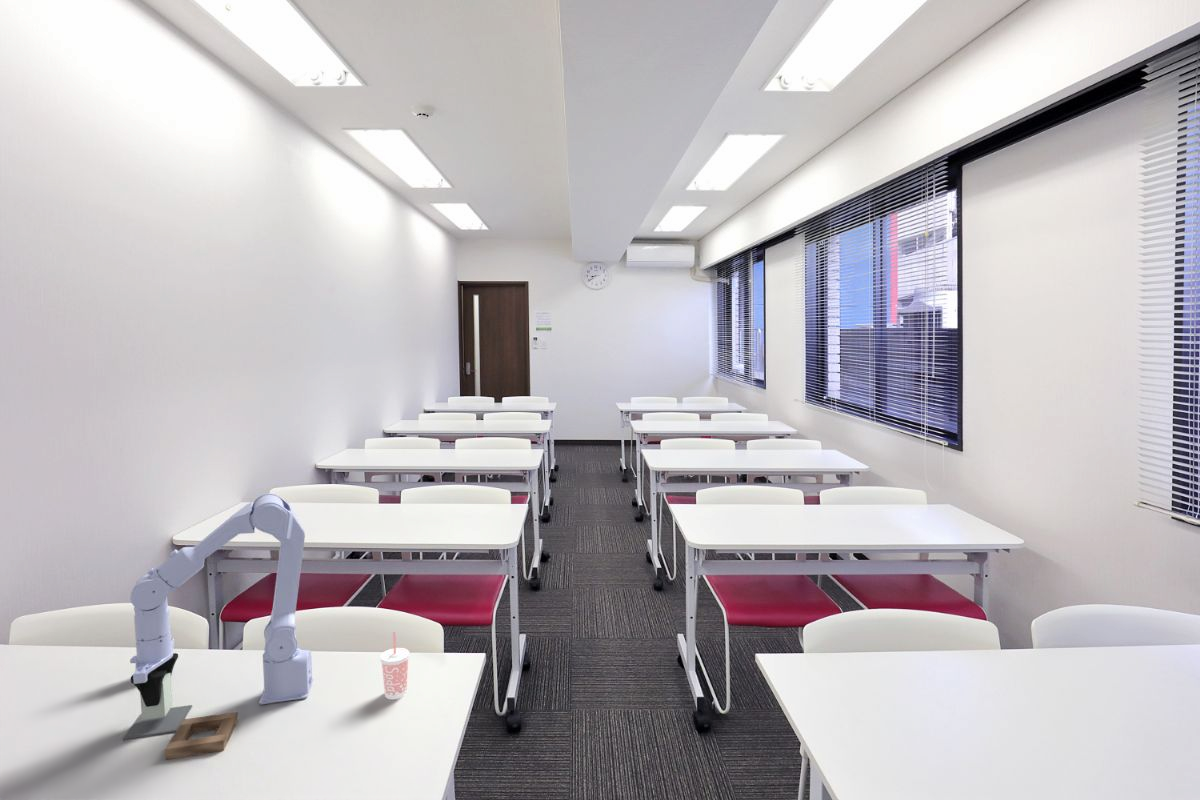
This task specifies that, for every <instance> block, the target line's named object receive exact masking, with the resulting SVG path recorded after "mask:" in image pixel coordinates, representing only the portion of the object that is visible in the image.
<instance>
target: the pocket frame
mask: <svg viewBox="0 0 1200 800" xmlns="http://www.w3.org/2000/svg"><path fill="white" fill-rule="evenodd" d="M238 722H239V713H238V711H232V712H226V713H217V714H212V715H203V716H197V717H190V718H185V719H184V720H183V721H182V723H181V725H180V726H179V728H178V729H177V731H176V732H174V734H173V736H172V738H171V739H170V741H169V742H168V744H167V745H166V747H165V749H164V755H165V760H170V759H171V760H172V759H177V758H184V757H189V756H196V755H203V754H209V753H215V752H222V751H225V749H226V747H227V744H228V743H229V741H230V739H231V736H232V734H233V732H234V730H235V728H236V726H237V725H238ZM215 730H216V732H215V734H214V735H211V736H205V737H203V736H202V737H198V738H192V739H190V738H191V736H192V734H196V733H201V732H207V731H208V732H209V731H215Z"/></svg>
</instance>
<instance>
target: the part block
mask: <svg viewBox="0 0 1200 800" xmlns="http://www.w3.org/2000/svg"><path fill="white" fill-rule="evenodd" d="M172 686H173V685H172V675H171V673H166V674H165V676H164V679H163V682H162V687H161V698H160V702H159V704H158V705H157V706H150V707H146V705H145V703H144V701H143V698H142V696H141V693H140V692H139V694H140V695H139V696H140V697H139V698H140V710H141V712H140V713H142V719H149V718H156V717H163V716H166V714H167V713H168V711H169V710H170V708H173V706H174V704H173V689H172Z"/></svg>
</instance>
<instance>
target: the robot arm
mask: <svg viewBox="0 0 1200 800" xmlns="http://www.w3.org/2000/svg"><path fill="white" fill-rule="evenodd" d="M255 529H257V530H258V531H260V532H262V533H265V534H267V535H271V536H272V537H273V538H274V539H276V540H278V541H279V543H280V545H279V553H278V555H279V556H278V562H277V563H278V564H277V568H276V569H277V570H276V577H275V578H276V579H275V586H274V595H273V603H272V610H271V613H270V619H269V621H268V623H267V624H266V625H265V628H264V631H263V635H264V642H265V644H264V652H263V654H262V669H263V688H264V690H263V693H262V695H261V697H260V699H259V701H258V704H259V705H266V704H267V705H268V704H274V703H280V702H289V701H296V700H302V699H306V698H308V696H309V693H310V690H311V687H312V683H313V680H314V679H313V666H312V664H313V663H312V652H311V651H312V650H310V649H309V650H308V649H301V648H300V646H299V644H298V643H299V642H298V640H297V636H296V635H297V634H296V611H297V603H298V602H297V601H298V595H299V594H298V593H299V586H300V579H301V578H300V577H301V569H302V563H303V562H302V561H303V554H304V546H305V540H306V539H305V537H306V532H305V529H304V527H303V526H302V524H301V522H300V521H299V519H298V518H297V515H296V514H295V513H294V511H293V509H292V507H291V505H290V504H289V502H287V501H286V500H285V499H283V498H282V497H280V495H277V494H276V493H264V494H261V495H259V496H258V497H257V498H256V499H255V500H254V501H253V502H252V501H251V502H249V503H247V504H245V505H244V506H243V507H241V508H240V509H239V510H238V511H237V512H235V513H234V514H232V515H231V516H230V517H229V518H228V519H226V520H225V521H224V522H223V523H221V524H220V525H219V526H218V527H216V528H215V529H214V530H212V531H211V533H209V534H208V535H207V536H206V537H204V538H203V539H202V540H201V541H200V542H198V543H197V544H196V545H194V546H185V547H182V548H180V549H179V550H177V549H176V548H175V549H174V550H173V551H172V552H171V551H170V553H169V558H167V559H166V560H165V561H164V562H162V563H161V564H159V565H158V566H157V567H152V568H150V569H149V570H148V571H147V574H144V575H142V576H141V577H139V578H138V580H137V581H136V582H135V584H134V587H133V589H132V590H131V593H130V602H131V604H132V606H133V612H134V615H133V621H134V634H135V635H134V636H135V647H136V648H135V650H136V655H134V656H132V657H131V658H130V659H129V662H130V663H129V664H135V670H134V672H133V673H132V675H131V676H130V682H131V684H133V685H134V686H135V688H136V689H137V690H138V692H139V694H140V693H141V696H142V698H143V701H144V703H145V705H146V707H150V706H157V705H158V704H159V702H160V698H161V687H162V682H163V679H164V676H165V674H166V673H171V676H172V675H173V670H174V667H175V664H176V662H177V660H178V658H179V654H178V653H176V652H175V653H174V648H175V639H174V638H172V633H171V620H170V619H171V617H170V608H169V606H168V603H169V602H168V593H170V592H173V591H175V590H177V589H178V588H180V586H182V585H183V584H184V583H186V582H187V581H188V580H190V579H191V578H192V577H193V576H194V575H197V573H199V572H200V571H201V570H202V569H203V568H204V567H205V559H206V558H208V557H210V556H211V555H212V554H213V553H215V552H217V551H218V550H219V549H220V548H222V547H223V546H225V545H226V544H227V543H229V542H230V541H231V540H233V539H234V538H235V537H237V536H238V535H240V534H241V535H242V534H254V533H255Z"/></svg>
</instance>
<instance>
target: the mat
mask: <svg viewBox="0 0 1200 800" xmlns="http://www.w3.org/2000/svg"><path fill="white" fill-rule="evenodd" d="M192 708H193V704H189V705H188V704H187V705H182V706H175V707H173V706H172V707H171V708H170V710H169V711H168V713H167V714H166V716H163V717H156V718H149V719H142V712H140V715H139V716H138V717H137V719H136V720H135V721H134V722H133V724H132V726H130V728H129V729H128V731H127V732H126V733H125V735H123V737H122V740H123V741H125V740H132V739H138V738H144V737H145V738H146V737H147V738H148V737H152V736H159V735H167V734H173V733H174V734H175V733H176V731H177V729H178V728H179V726H180V725H181V723H182V721H183V720H184V719H186V717H187V716H188V714H189V712H190V711H191V709H192Z"/></svg>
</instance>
